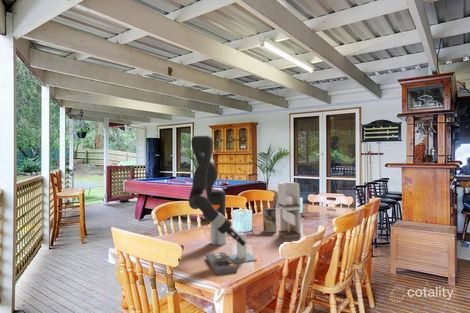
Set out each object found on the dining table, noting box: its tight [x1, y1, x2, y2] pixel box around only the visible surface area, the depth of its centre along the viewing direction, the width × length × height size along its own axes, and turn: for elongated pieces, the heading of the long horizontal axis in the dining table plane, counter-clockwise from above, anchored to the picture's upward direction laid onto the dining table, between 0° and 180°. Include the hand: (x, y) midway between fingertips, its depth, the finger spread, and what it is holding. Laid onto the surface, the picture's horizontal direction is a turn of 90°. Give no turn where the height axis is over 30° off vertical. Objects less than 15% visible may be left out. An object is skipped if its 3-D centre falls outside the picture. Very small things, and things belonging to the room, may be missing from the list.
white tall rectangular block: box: [236, 232, 248, 259], centre depth 170 cm, size 4×4×12 cm
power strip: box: [205, 252, 238, 275], centre depth 163 cm, size 28×10×3 cm, turn 16°
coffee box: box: [262, 207, 277, 233], centre depth 230 cm, size 9×6×16 cm
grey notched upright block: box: [277, 181, 302, 238], centre depth 217 cm, size 11×11×35 cm
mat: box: [227, 252, 257, 264], centre depth 170 cm, size 12×12×1 cm
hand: (241, 242), depth 170 cm, fingers open, 8 cm apart
